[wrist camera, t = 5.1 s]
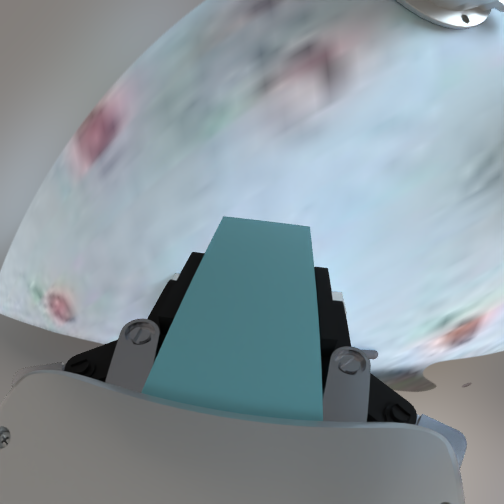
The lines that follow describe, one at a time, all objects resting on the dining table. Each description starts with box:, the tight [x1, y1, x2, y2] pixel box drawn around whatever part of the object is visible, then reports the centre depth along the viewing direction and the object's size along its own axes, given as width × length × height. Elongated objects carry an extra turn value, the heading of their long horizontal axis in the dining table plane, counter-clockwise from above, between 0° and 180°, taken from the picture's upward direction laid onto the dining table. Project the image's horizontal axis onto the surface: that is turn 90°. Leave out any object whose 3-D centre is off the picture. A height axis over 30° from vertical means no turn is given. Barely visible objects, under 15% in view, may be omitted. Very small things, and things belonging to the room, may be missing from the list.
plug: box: [141, 216, 323, 421], centre depth 10 cm, size 4×4×10 cm
